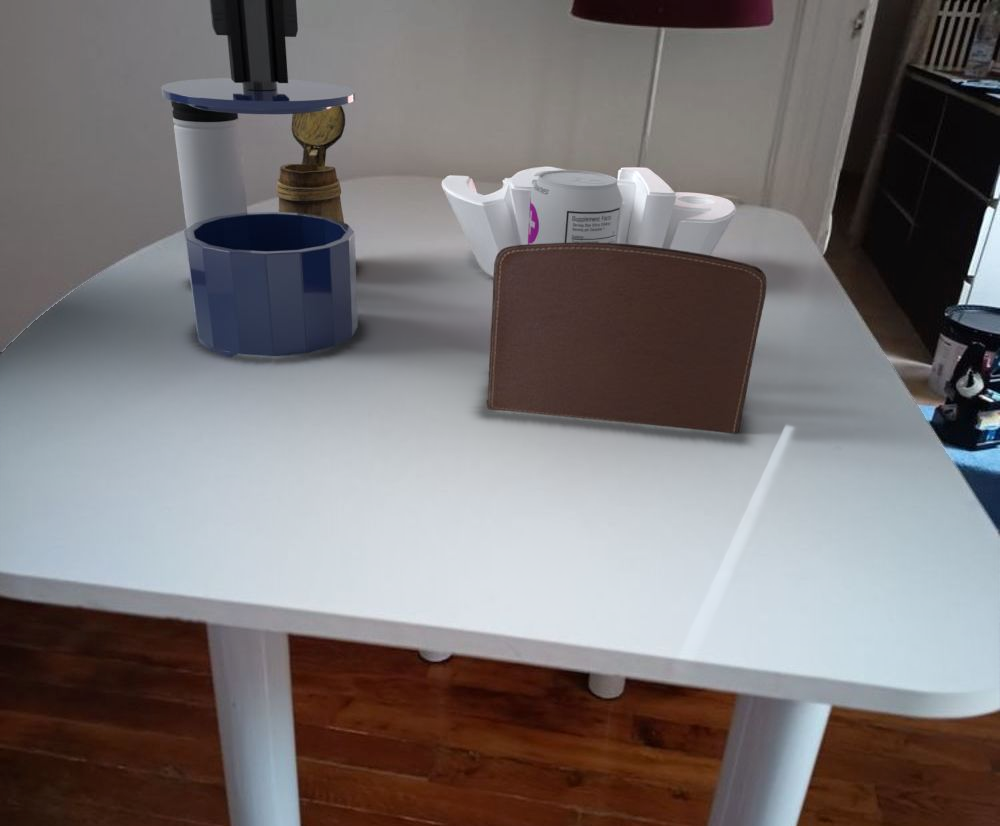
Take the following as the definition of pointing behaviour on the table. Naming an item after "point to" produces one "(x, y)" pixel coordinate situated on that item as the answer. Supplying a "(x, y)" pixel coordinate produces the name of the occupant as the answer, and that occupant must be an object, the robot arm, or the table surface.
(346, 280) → the pot
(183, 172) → the travel mug
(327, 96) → the lid
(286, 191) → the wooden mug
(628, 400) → the letter holder
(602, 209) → the supplement can
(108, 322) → the table surface
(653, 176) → the wavy white extrusion
